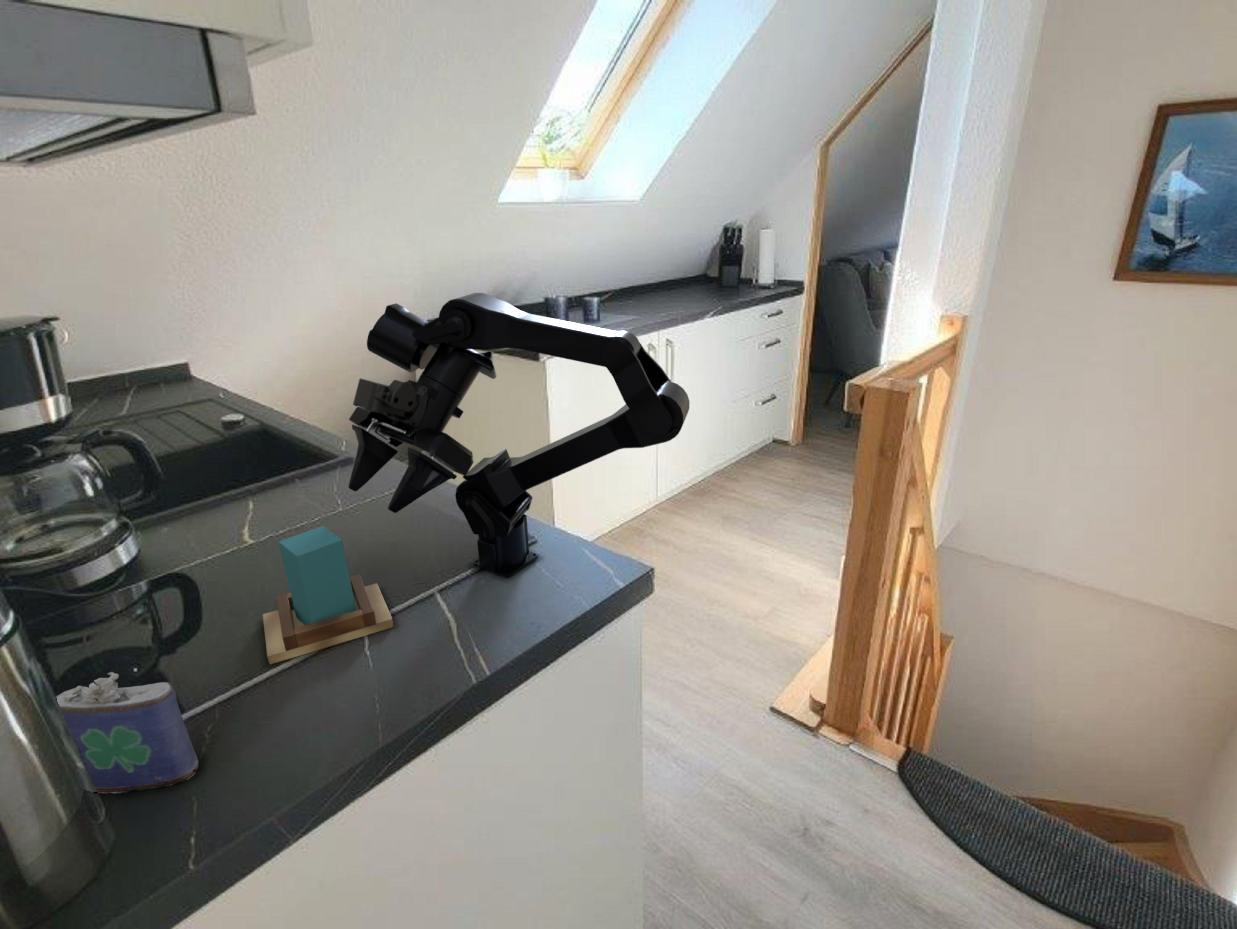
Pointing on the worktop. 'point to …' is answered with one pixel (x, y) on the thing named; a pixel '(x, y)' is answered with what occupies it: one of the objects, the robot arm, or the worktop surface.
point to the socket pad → (324, 624)
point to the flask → (129, 734)
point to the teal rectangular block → (317, 575)
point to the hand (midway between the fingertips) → (371, 500)
